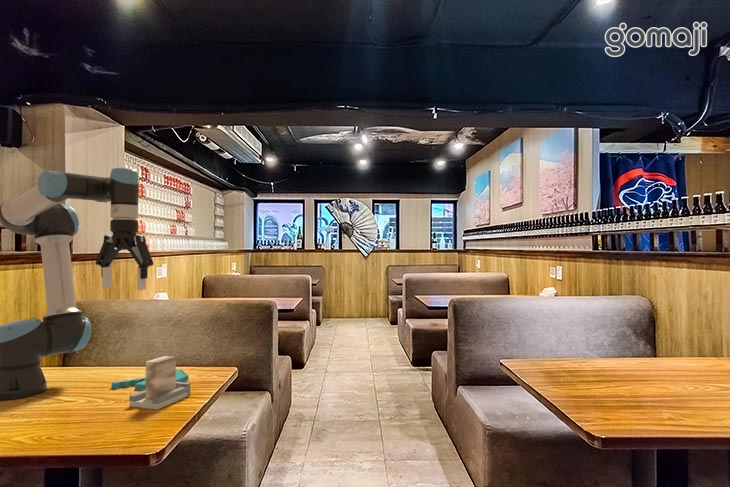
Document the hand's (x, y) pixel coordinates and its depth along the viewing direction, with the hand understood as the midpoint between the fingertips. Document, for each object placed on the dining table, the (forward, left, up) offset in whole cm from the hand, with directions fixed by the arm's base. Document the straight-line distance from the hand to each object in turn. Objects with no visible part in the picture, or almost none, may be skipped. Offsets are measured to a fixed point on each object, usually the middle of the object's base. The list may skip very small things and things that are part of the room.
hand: (123, 289), depth 141 cm
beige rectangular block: (+11, +4, -33) cm, 34 cm away
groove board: (+11, +4, -34) cm, 36 cm away
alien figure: (-7, +21, -35) cm, 41 cm away
